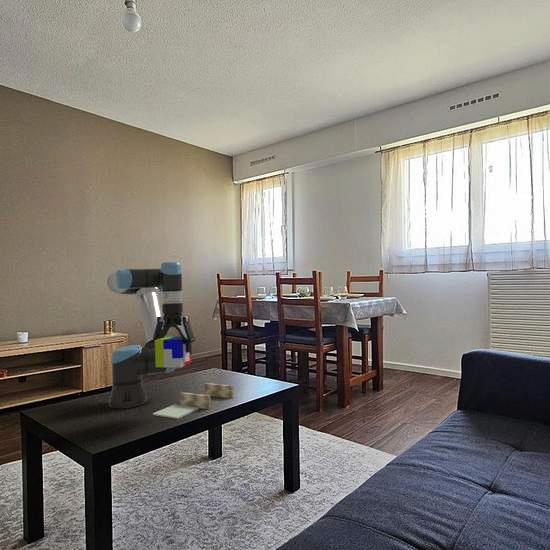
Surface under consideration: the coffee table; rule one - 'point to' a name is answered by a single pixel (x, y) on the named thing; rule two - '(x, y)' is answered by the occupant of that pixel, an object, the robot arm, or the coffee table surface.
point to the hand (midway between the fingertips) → (174, 360)
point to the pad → (175, 411)
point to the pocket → (206, 396)
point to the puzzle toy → (170, 352)
